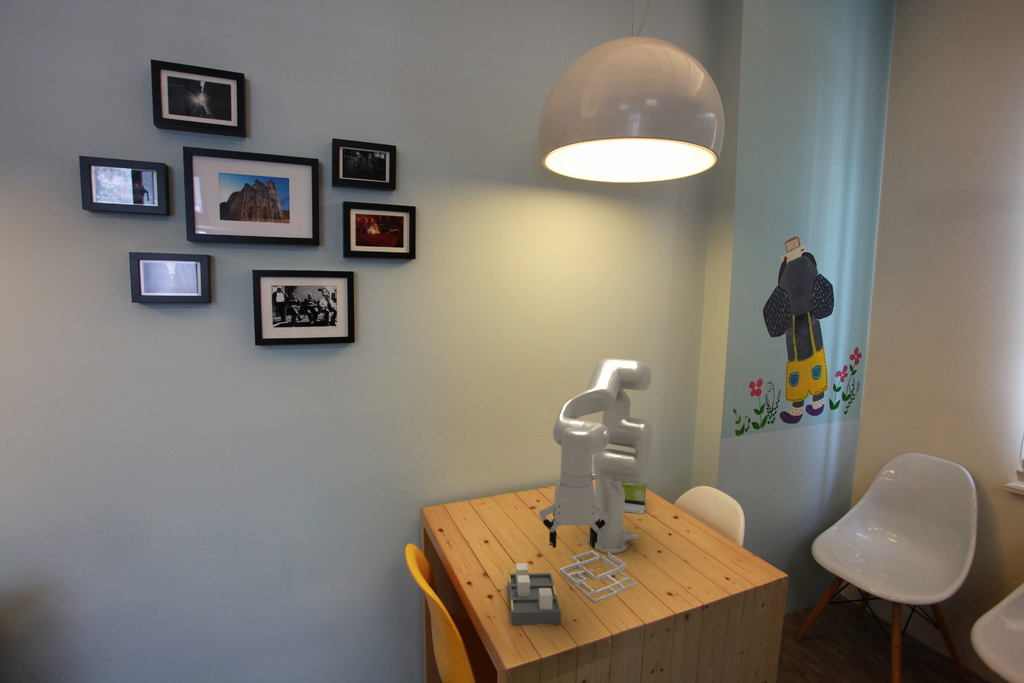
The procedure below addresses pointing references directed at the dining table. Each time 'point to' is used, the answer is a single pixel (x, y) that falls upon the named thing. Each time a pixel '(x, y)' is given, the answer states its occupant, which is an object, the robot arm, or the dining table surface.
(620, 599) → the dining table surface
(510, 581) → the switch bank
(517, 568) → the white rectangular block
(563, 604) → the dining table surface
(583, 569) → the floor plan model
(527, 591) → the white block
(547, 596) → the tab
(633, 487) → the tea box
